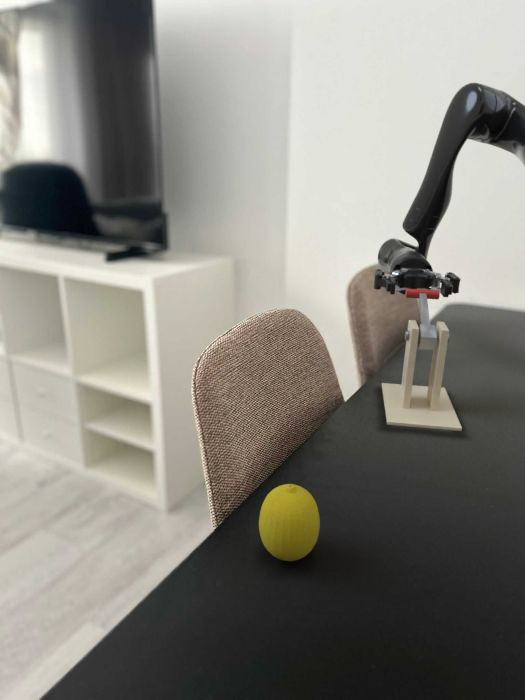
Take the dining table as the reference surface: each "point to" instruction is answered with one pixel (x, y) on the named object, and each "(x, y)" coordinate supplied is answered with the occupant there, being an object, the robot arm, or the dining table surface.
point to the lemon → (289, 522)
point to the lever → (425, 317)
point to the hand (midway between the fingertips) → (419, 289)
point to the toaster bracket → (421, 388)
